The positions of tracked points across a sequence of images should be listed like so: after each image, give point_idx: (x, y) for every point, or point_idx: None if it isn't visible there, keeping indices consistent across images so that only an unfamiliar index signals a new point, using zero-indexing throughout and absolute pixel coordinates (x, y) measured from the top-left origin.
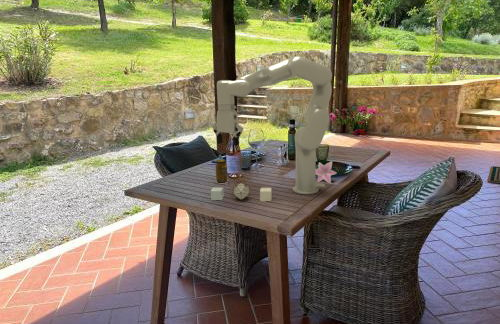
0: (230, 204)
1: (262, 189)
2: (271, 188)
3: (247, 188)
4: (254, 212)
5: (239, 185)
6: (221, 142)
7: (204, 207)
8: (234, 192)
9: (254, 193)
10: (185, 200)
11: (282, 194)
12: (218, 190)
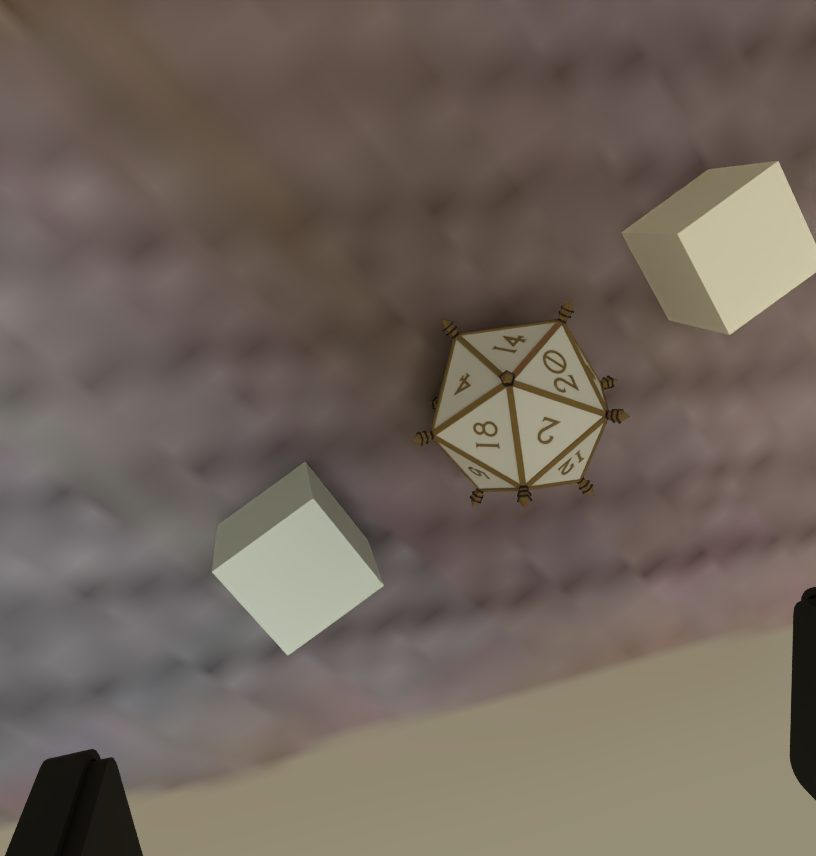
0: (493, 544)
1: (722, 271)
2: (781, 172)
3: (592, 377)
4: (759, 534)
5: (553, 464)
6: (125, 825)
7: (359, 726)
8: (491, 489)
9: (490, 172)
10: (69, 749)
11: (753, 13)
12: (343, 592)
